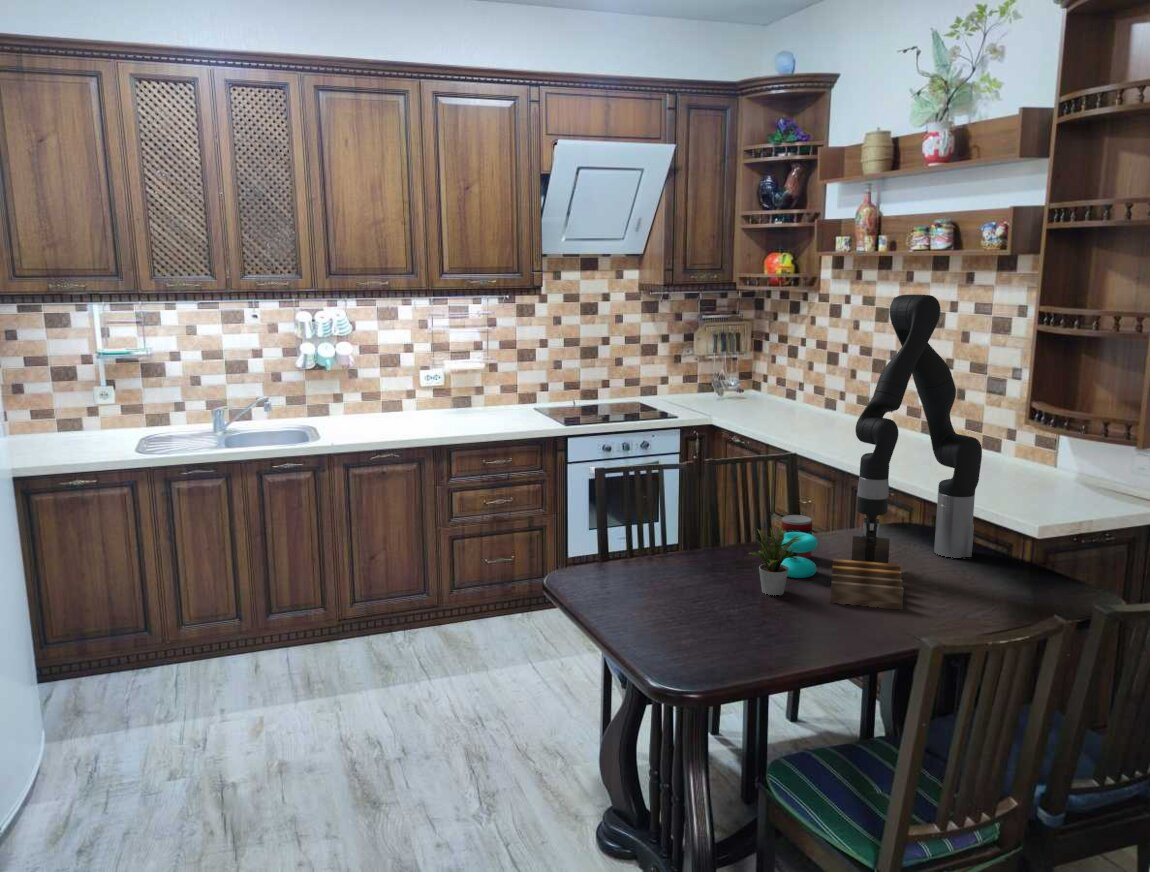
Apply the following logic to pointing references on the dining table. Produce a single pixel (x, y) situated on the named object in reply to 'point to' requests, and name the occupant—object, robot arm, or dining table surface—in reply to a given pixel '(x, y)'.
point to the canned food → (797, 529)
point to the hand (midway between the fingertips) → (869, 555)
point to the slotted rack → (867, 584)
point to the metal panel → (880, 549)
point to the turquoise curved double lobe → (802, 565)
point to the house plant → (774, 563)
